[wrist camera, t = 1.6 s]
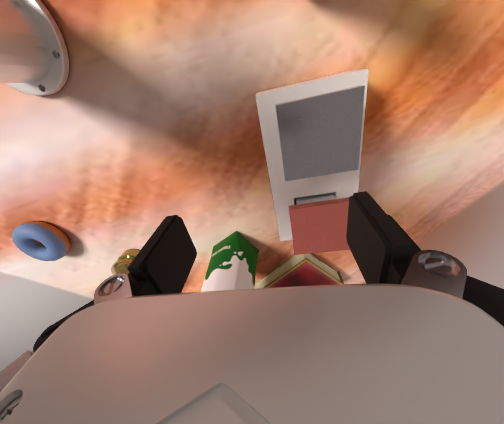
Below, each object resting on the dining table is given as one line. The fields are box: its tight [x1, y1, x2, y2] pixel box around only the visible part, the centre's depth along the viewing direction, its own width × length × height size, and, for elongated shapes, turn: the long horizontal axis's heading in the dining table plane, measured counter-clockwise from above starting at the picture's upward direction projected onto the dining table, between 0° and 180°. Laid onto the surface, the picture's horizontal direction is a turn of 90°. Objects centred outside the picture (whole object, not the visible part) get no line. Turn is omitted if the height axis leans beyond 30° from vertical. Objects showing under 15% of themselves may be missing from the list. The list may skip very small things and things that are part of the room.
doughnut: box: [12, 221, 70, 261], centre depth 44 cm, size 10×10×5 cm
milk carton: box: [201, 231, 259, 292], centre depth 36 cm, size 9×9×20 cm
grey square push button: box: [275, 85, 365, 181], centre depth 24 cm, size 8×8×6 cm
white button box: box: [255, 69, 369, 241], centre depth 30 cm, size 22×12×6 cm, turn 12°
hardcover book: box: [255, 253, 344, 289], centre depth 48 cm, size 12×21×4 cm, turn 141°
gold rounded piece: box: [111, 249, 140, 275], centre depth 44 cm, size 7×7×10 cm
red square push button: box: [288, 192, 350, 255], centre depth 30 cm, size 8×8×6 cm
